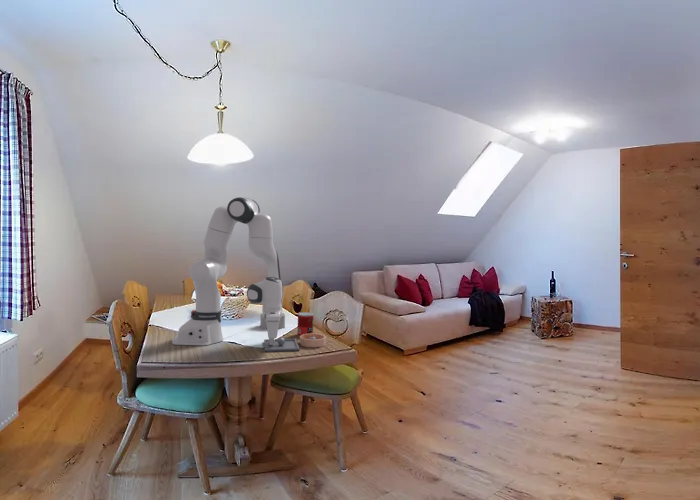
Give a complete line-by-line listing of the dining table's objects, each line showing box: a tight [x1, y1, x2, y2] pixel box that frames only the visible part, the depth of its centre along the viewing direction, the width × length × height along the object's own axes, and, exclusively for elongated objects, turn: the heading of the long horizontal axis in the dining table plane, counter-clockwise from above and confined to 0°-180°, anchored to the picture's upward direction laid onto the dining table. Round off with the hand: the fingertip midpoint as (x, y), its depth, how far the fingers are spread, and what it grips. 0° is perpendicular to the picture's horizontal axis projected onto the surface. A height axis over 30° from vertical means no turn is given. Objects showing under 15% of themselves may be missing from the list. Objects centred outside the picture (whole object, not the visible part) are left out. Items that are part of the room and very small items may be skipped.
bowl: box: [299, 332, 327, 349], centre depth 196 cm, size 12×12×4 cm
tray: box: [263, 338, 300, 353], centre depth 190 cm, size 15×16×1 cm
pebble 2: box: [277, 337, 286, 345], centre depth 190 cm, size 3×3×3 cm
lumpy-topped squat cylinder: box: [259, 312, 286, 330], centre depth 227 cm, size 10×13×9 cm
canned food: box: [297, 311, 315, 337], centre depth 212 cm, size 8×8×11 cm
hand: (271, 343), depth 189 cm, fingers closed on pebble 1, 3 cm apart
